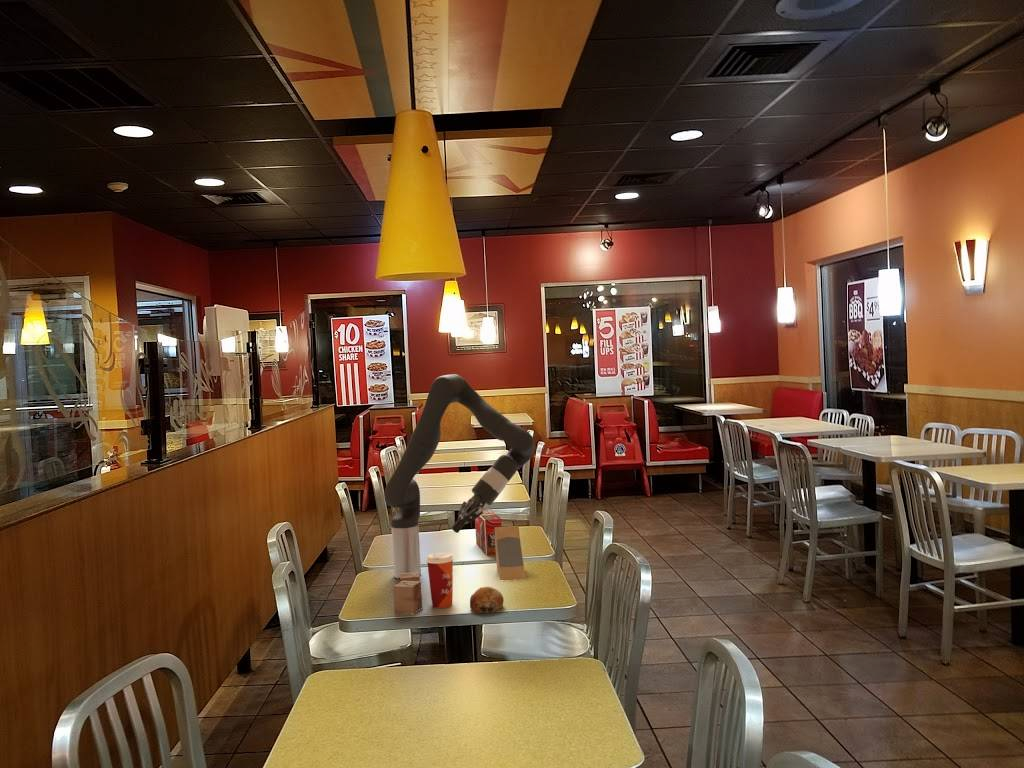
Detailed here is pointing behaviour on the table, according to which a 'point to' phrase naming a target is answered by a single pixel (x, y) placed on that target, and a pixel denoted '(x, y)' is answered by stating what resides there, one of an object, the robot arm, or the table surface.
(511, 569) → the sandwich container
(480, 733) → the table surface
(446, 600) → the coffee cup
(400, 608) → the three-dot block
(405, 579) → the two-dot block
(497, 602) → the bread roll
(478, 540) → the ice cream box
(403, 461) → the robot arm
